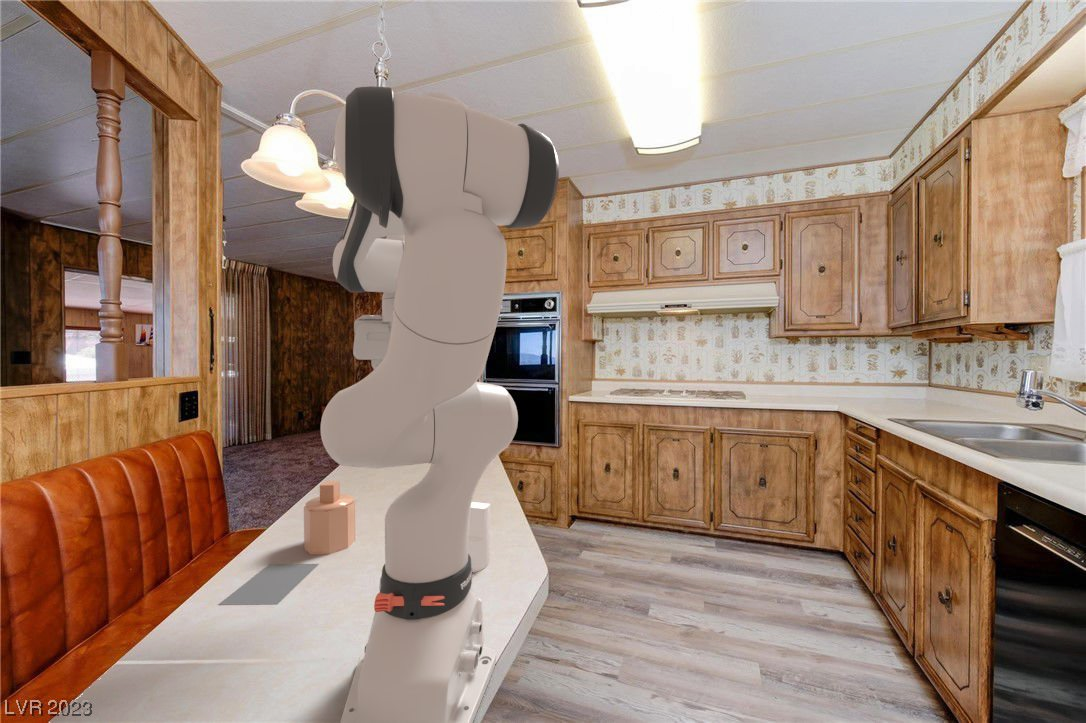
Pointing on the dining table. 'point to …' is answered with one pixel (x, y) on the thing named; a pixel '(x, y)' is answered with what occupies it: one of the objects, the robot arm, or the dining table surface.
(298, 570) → the mat
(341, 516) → the cloche
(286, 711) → the dining table surface
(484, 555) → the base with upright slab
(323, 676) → the dining table surface
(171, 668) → the dining table surface
